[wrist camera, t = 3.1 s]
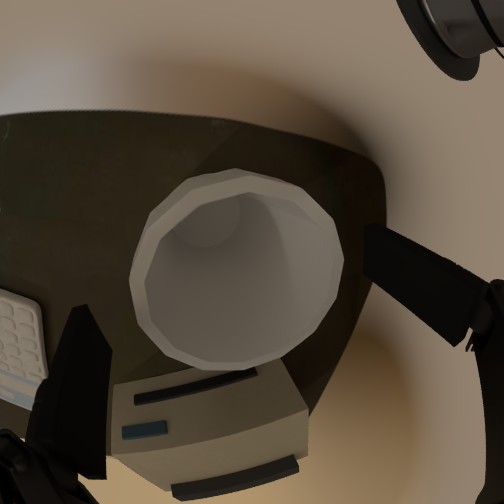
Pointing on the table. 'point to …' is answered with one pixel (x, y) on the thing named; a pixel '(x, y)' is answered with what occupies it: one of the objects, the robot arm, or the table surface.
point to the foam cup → (234, 270)
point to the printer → (211, 429)
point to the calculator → (21, 349)
